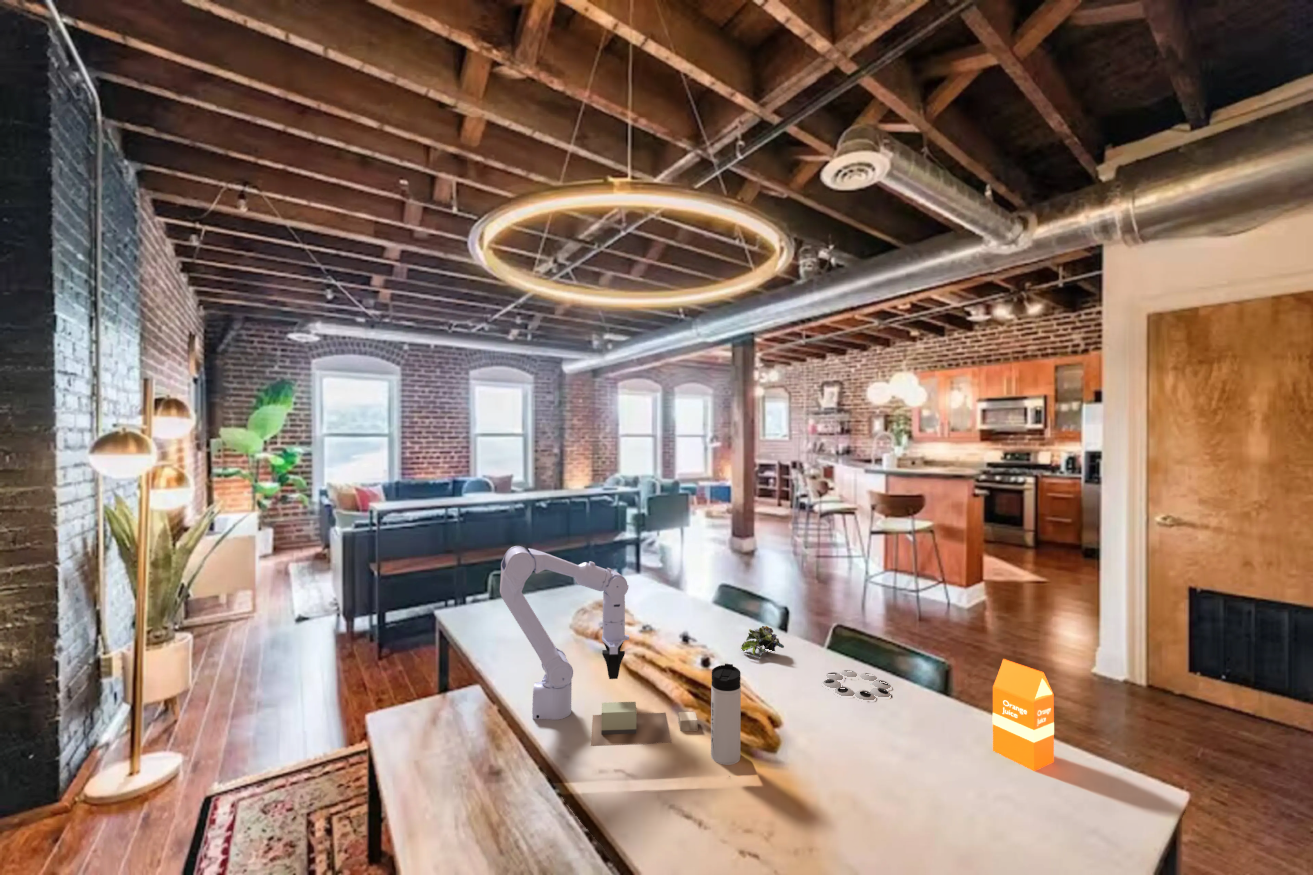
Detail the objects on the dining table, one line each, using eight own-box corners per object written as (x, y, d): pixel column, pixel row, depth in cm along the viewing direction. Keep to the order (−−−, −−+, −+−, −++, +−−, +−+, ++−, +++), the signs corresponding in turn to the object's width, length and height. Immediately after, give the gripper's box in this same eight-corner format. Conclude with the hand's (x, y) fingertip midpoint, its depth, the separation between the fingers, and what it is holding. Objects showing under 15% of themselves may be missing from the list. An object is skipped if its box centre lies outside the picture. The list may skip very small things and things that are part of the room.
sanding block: (601, 734, 127) (601, 712, 128) (601, 723, 132) (602, 702, 133) (636, 733, 128) (636, 711, 128) (635, 722, 133) (635, 701, 133)
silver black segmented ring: (872, 710, 144) (872, 703, 144) (807, 686, 159) (807, 678, 159) (906, 689, 157) (906, 682, 157) (843, 668, 172) (843, 661, 172)
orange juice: (1033, 771, 117) (1033, 675, 117) (992, 750, 125) (992, 661, 125) (1054, 761, 120) (1054, 669, 121) (1012, 742, 128) (1012, 655, 129)
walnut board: (590, 752, 123) (590, 745, 123) (592, 720, 137) (592, 714, 137) (671, 749, 124) (671, 742, 124) (665, 718, 138) (665, 712, 138)
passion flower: (767, 669, 183) (789, 641, 182) (758, 674, 173) (782, 645, 172) (741, 644, 188) (762, 616, 187) (731, 648, 178) (754, 619, 177)
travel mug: (743, 757, 121) (743, 665, 122) (737, 774, 115) (737, 677, 115) (714, 751, 123) (715, 661, 124) (707, 768, 117) (708, 672, 117)
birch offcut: (680, 720, 130) (697, 719, 130) (678, 712, 134) (694, 711, 134) (680, 737, 129) (697, 737, 130) (678, 728, 133) (694, 728, 134)
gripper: (630, 628, 137) (629, 683, 136) (628, 610, 151) (628, 660, 151) (601, 628, 136) (600, 684, 136) (602, 610, 150) (601, 661, 150)
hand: (613, 672), depth 143 cm, fingers open, 7 cm apart
